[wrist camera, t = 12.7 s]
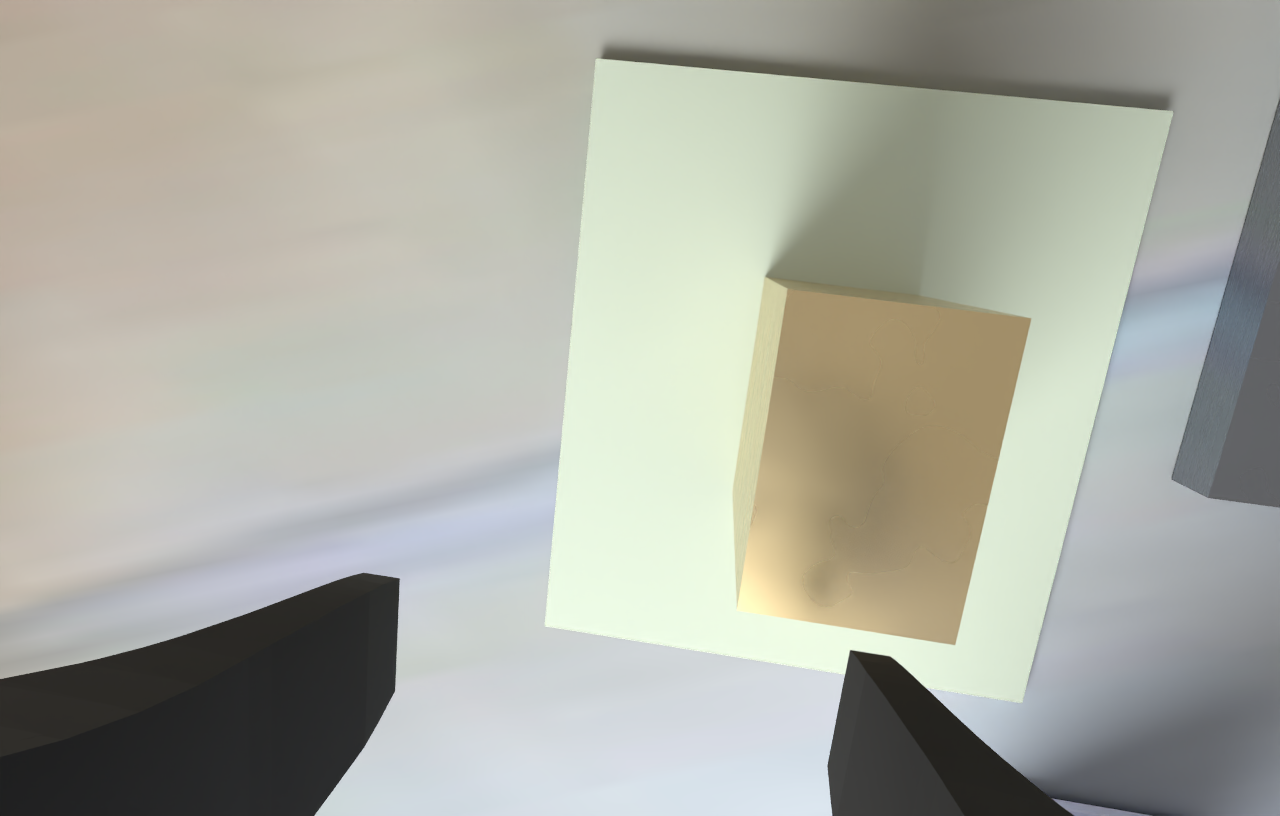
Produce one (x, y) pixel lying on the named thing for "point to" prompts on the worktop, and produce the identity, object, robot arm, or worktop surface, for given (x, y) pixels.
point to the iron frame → (1243, 365)
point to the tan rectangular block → (869, 455)
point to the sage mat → (836, 255)
